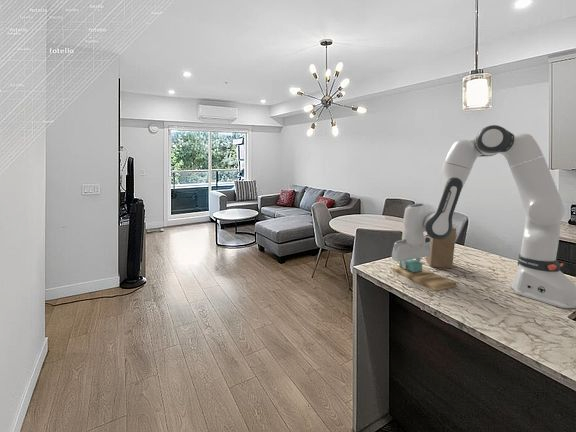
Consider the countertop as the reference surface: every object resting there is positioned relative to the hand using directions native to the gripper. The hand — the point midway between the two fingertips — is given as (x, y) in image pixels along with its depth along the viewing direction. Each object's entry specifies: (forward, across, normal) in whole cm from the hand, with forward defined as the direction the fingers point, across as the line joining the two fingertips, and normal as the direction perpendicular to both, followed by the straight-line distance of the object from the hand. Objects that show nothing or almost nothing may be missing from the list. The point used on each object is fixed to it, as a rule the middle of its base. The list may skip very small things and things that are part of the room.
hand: (410, 267), depth 146 cm
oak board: (+2, 0, -8) cm, 8 cm away
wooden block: (+3, +22, +3) cm, 22 cm away
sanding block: (+1, 0, 0) cm, 1 cm away
